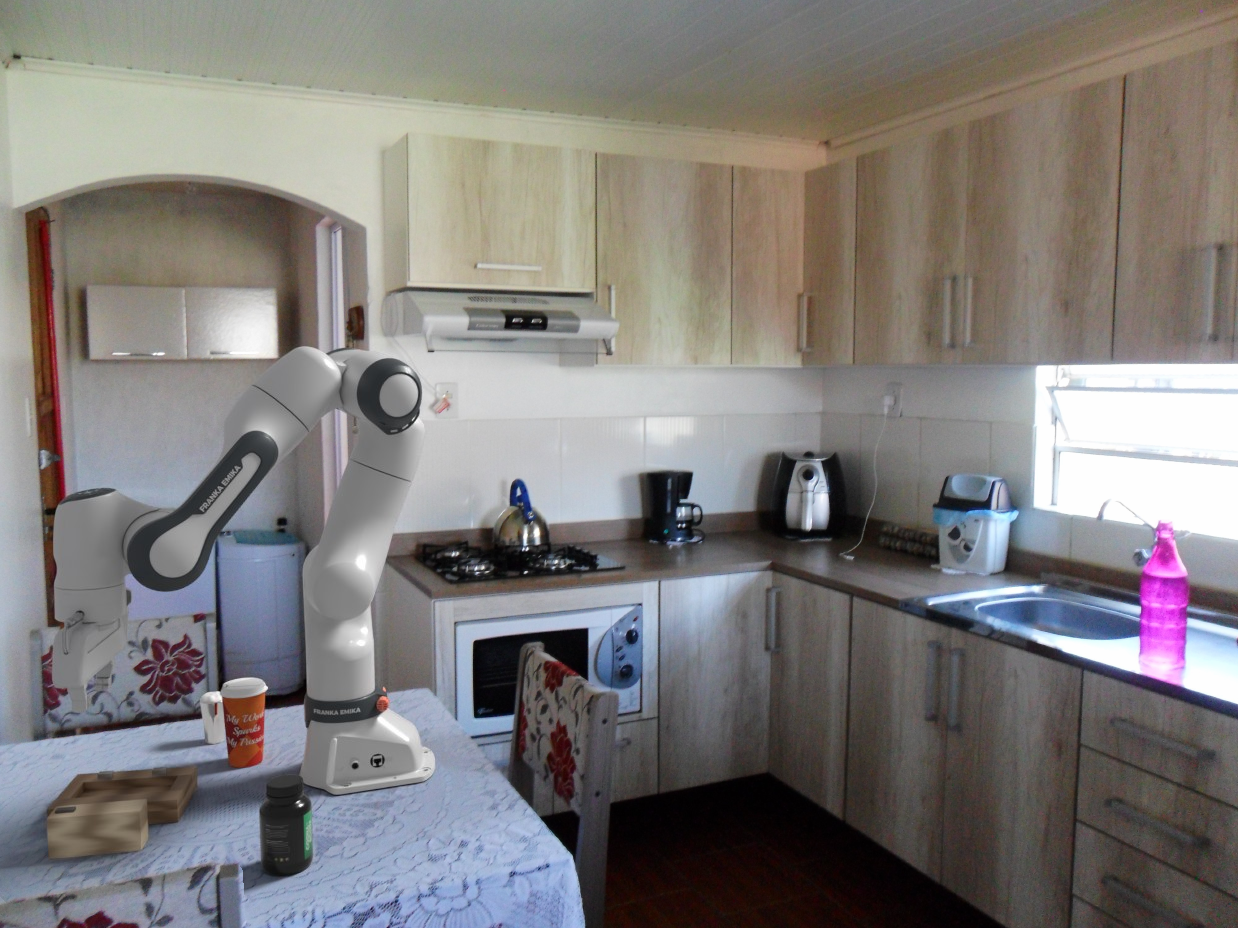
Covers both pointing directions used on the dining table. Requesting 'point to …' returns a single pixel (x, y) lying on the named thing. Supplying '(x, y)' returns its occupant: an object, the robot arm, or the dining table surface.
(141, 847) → the door
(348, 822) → the dining table surface
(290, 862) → the supplement bottle
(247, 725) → the paper cup
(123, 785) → the frame
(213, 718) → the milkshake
